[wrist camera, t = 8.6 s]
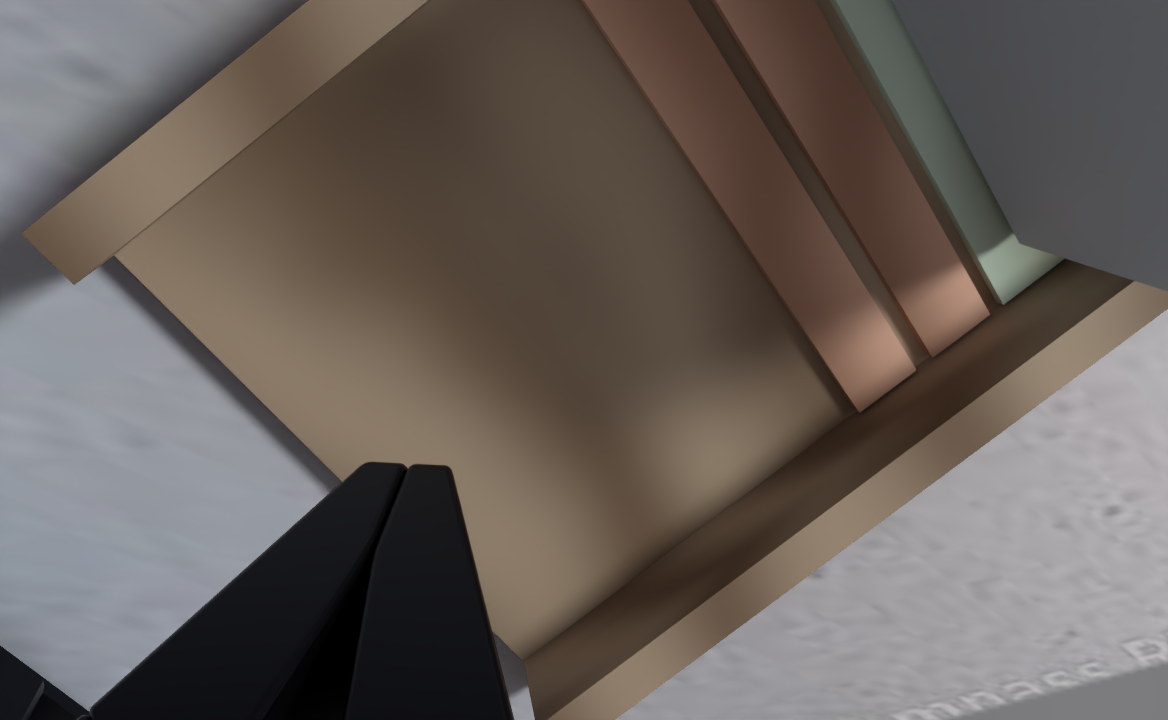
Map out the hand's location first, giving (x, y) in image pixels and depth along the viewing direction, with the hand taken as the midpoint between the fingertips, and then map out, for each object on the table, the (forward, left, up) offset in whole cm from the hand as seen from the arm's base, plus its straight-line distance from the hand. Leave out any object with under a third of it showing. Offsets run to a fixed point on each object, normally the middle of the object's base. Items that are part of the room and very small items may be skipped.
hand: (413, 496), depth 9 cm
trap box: (+7, -3, -12) cm, 15 cm away
